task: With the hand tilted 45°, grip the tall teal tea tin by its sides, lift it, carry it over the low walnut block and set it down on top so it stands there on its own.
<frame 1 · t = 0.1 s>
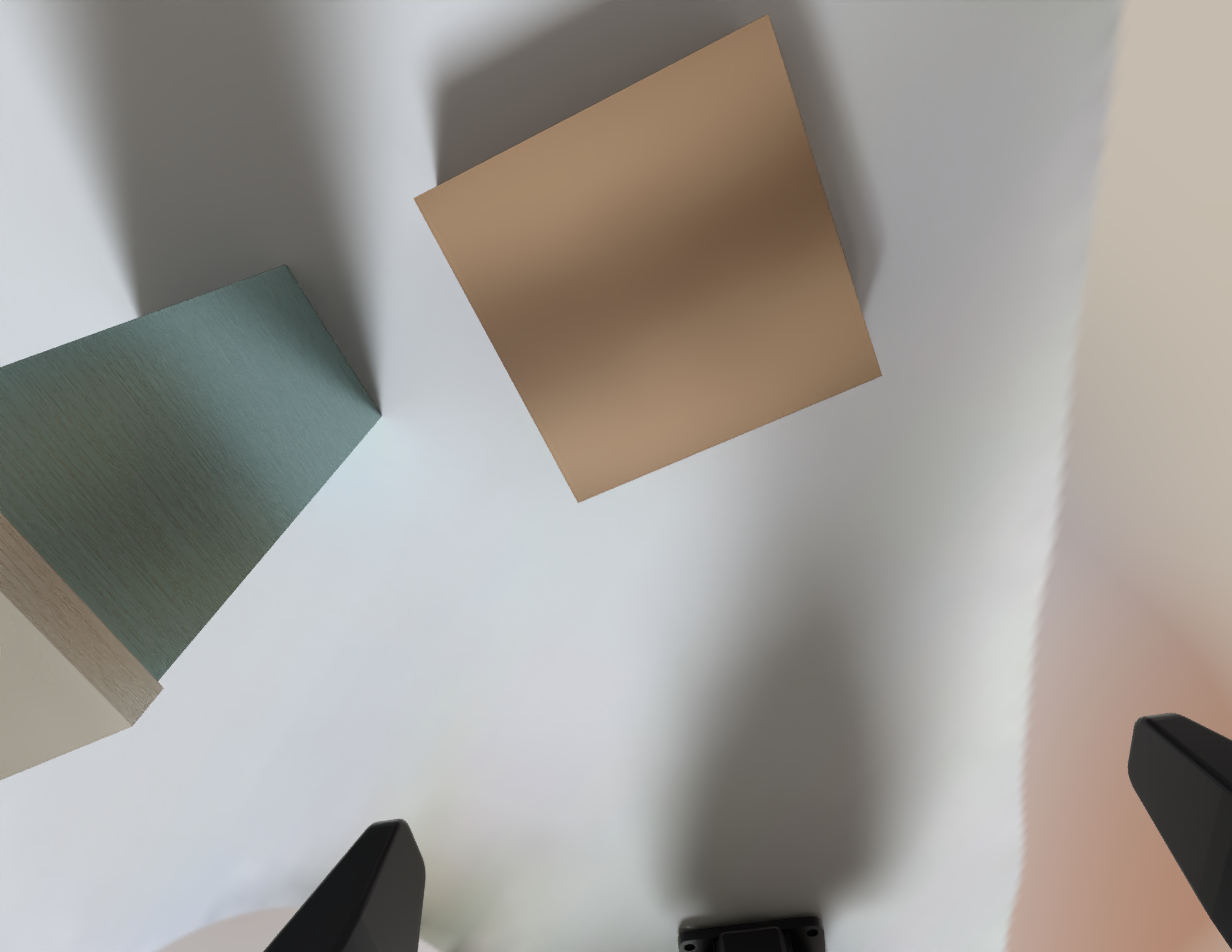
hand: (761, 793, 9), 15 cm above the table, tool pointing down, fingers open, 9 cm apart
walnut block: (653, 273, 21), on the table
tea tin: (265, 378, 22), on the table
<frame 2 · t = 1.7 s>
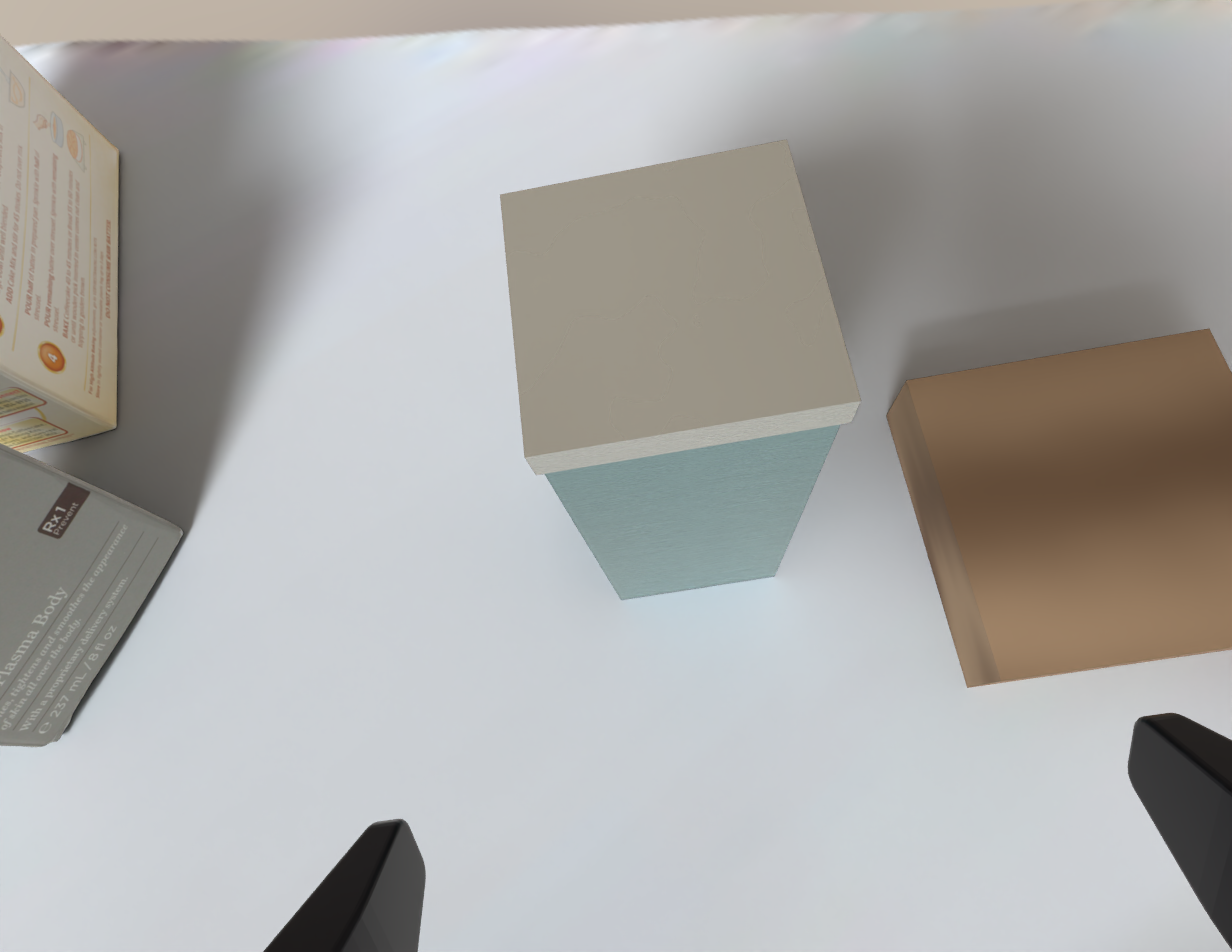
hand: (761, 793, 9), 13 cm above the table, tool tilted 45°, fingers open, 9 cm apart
coffeecake box: (49, 302, 31), on the table
walnut block: (1062, 523, 23), on the table
tea tin: (684, 515, 24), on the table
skincare box: (64, 593, 26), on the table
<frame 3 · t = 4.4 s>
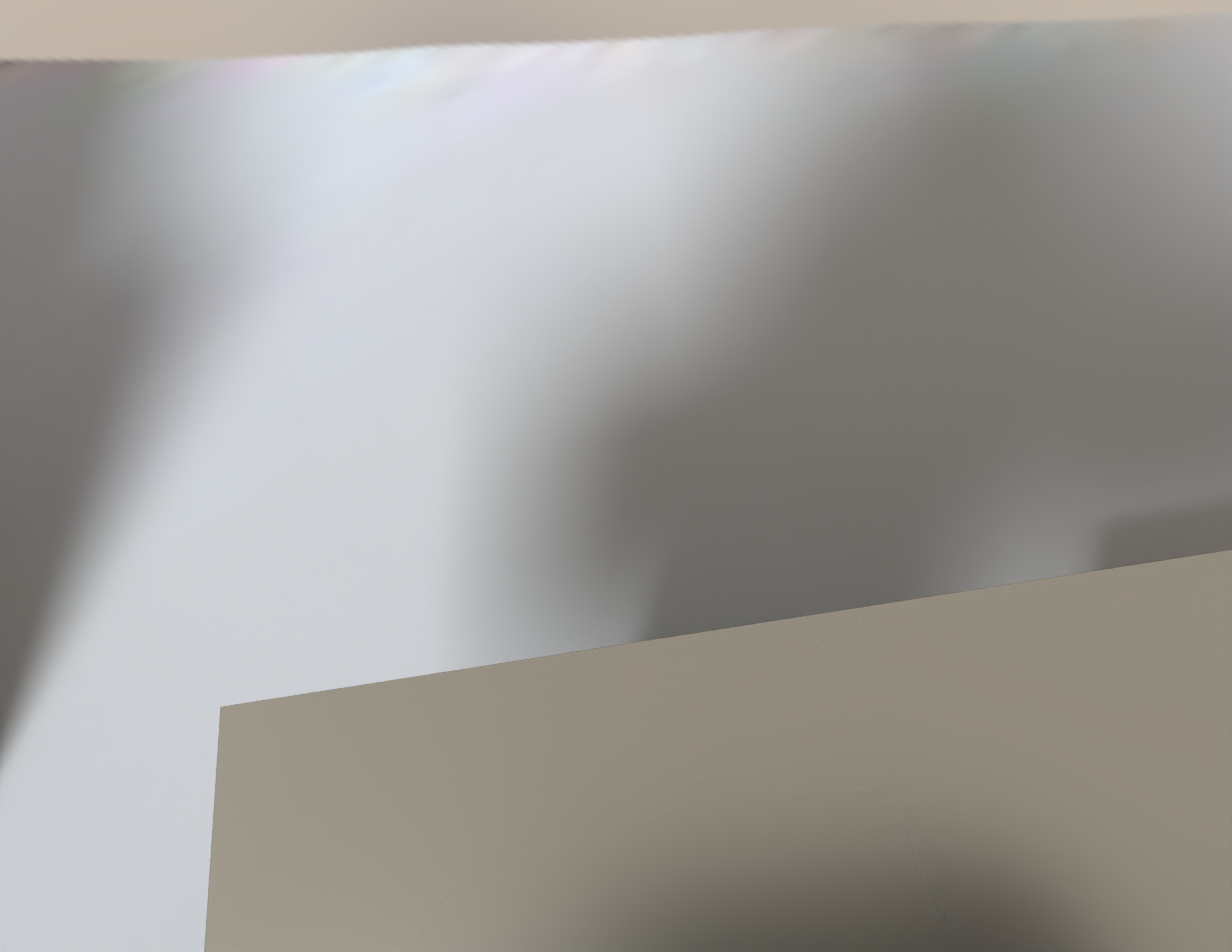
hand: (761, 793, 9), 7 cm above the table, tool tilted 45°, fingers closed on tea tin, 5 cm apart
tea tin: (750, 849, 15), on the table, touching gripper
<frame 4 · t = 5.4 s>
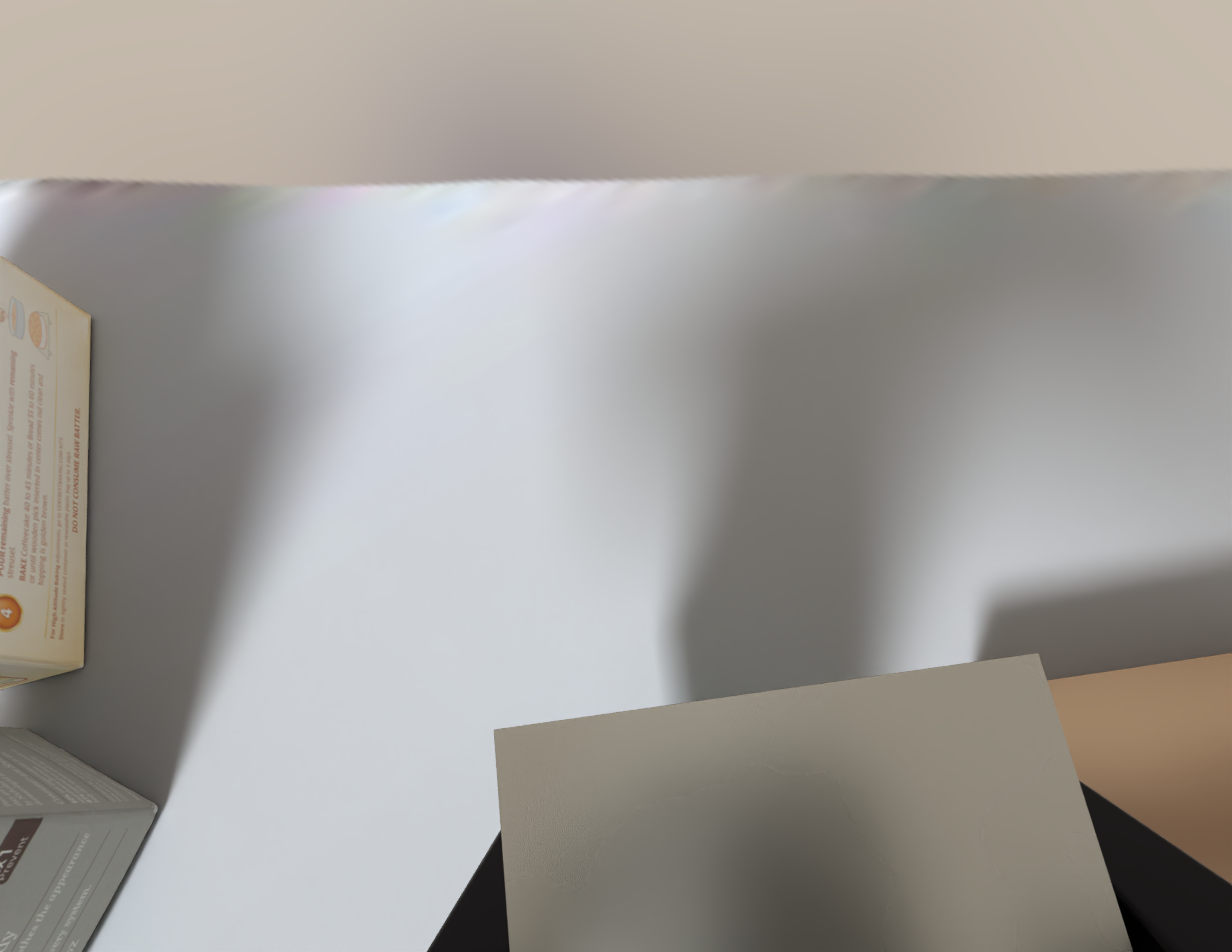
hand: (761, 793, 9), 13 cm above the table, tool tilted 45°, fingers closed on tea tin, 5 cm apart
coffeecake box: (12, 500, 27), on the table
walnut block: (1181, 837, 20), on the table
tea tin: (739, 809, 18), point 3 cm above the table, touching gripper
skincare box: (22, 876, 23), on the table
when the fingers open (13 cm above the table, at t = 6.3 s): tea tin stays where it is, point 3 cm above the table.
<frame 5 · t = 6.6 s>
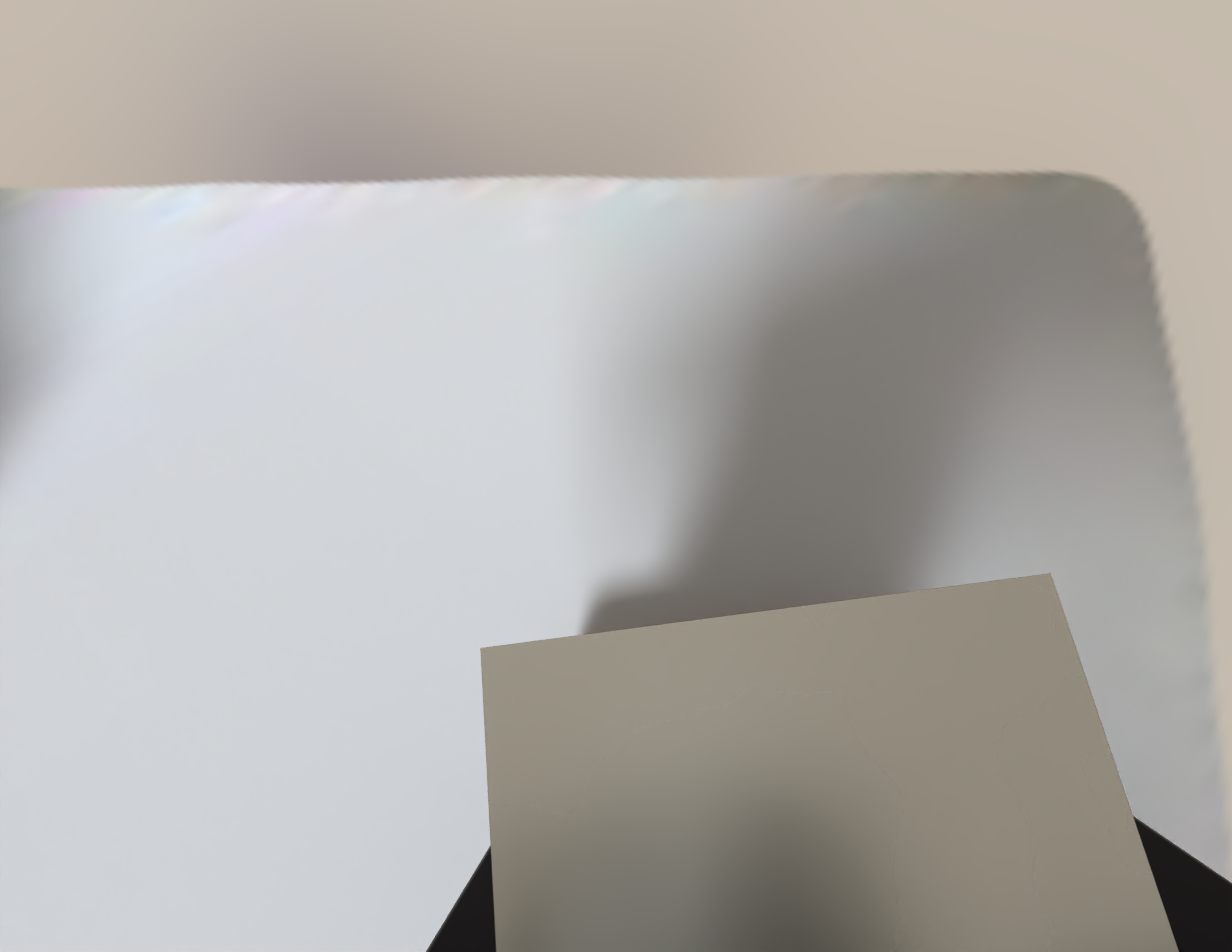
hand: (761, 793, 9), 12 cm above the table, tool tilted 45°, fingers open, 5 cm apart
tea tin: (717, 802, 18), point 3 cm above the table
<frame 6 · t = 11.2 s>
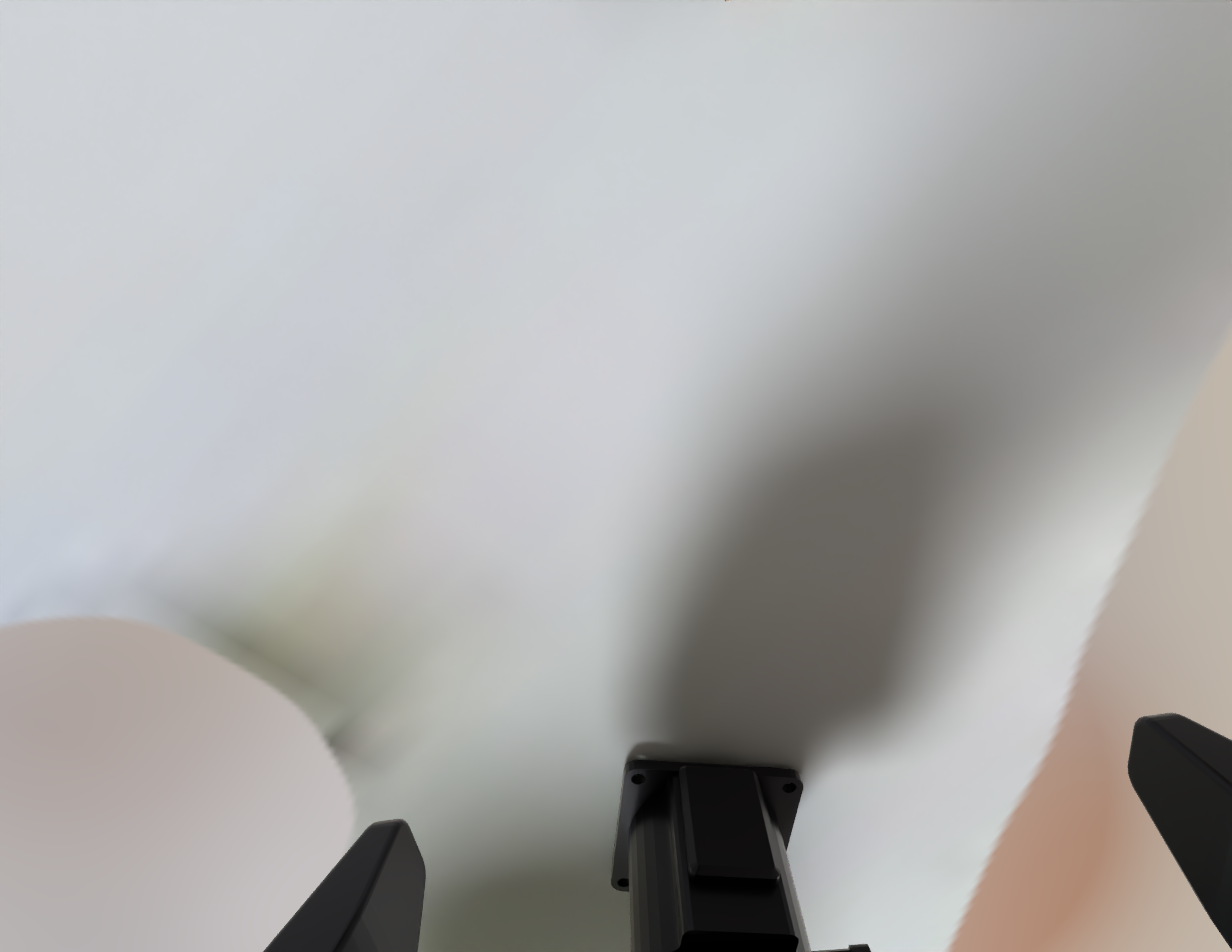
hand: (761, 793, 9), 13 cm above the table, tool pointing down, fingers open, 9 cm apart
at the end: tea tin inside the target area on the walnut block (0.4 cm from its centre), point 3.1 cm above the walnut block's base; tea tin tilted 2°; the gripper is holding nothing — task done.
